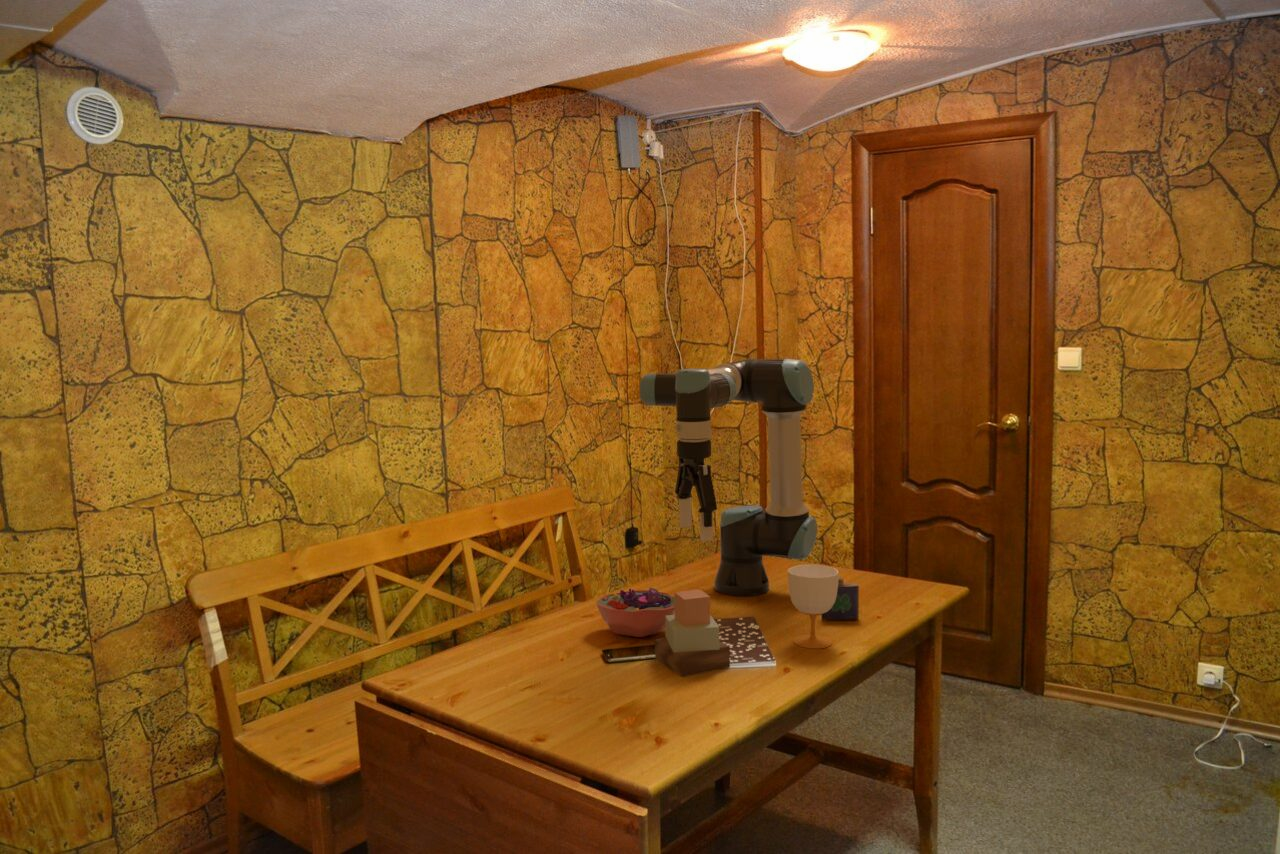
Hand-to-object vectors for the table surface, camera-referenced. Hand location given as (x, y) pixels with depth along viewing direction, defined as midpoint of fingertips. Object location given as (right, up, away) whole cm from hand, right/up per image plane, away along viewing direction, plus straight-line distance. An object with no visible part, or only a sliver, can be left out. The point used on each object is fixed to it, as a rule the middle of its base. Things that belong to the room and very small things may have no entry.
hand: (695, 533), depth 207 cm
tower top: (-1, -24, -3) cm, 24 cm away
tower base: (-1, -29, -2) cm, 29 cm away
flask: (+38, -25, +26) cm, 52 cm away
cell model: (-13, -26, +18) cm, 34 cm away
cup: (+28, -27, +10) cm, 40 cm away
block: (-1, -19, -3) cm, 19 cm away
